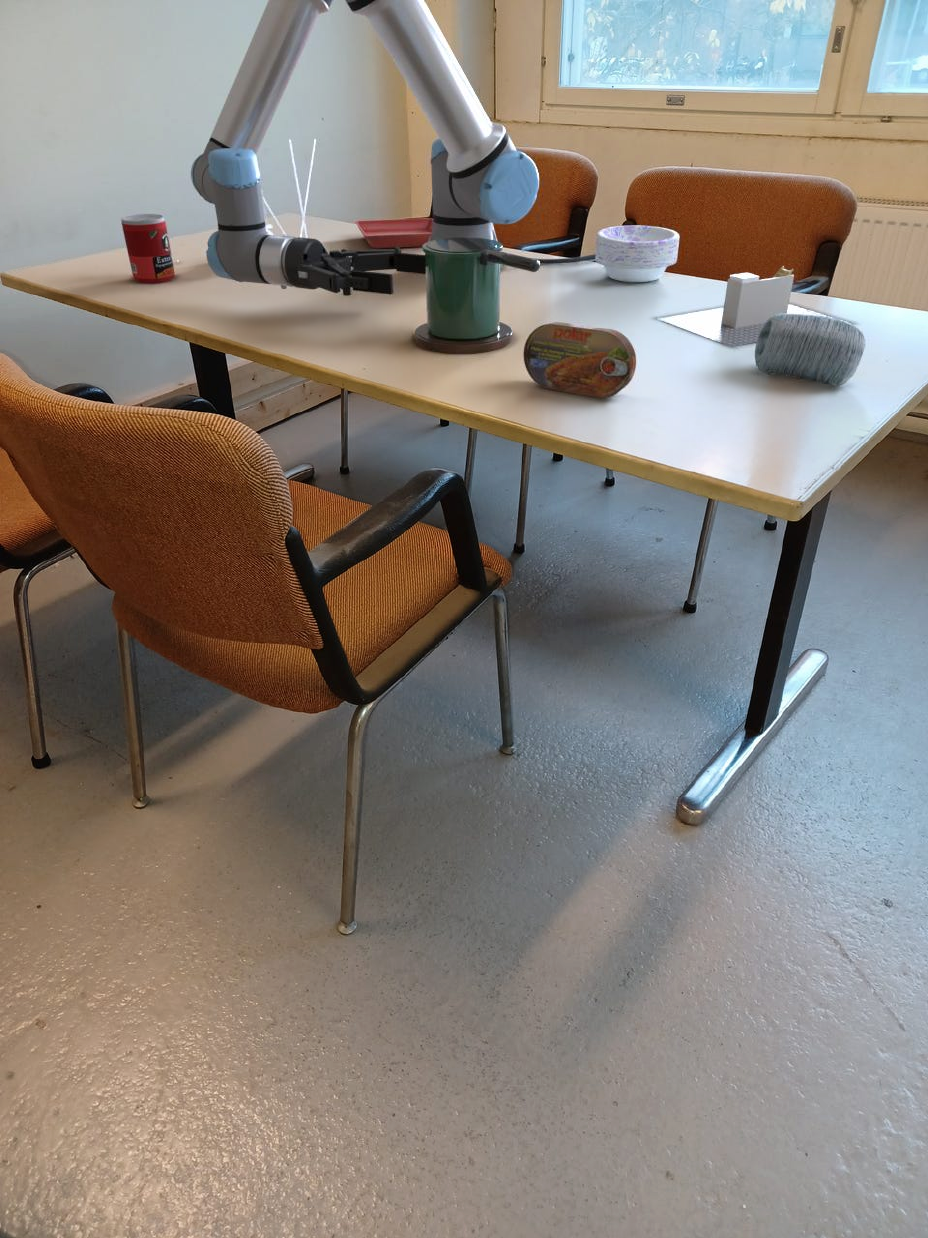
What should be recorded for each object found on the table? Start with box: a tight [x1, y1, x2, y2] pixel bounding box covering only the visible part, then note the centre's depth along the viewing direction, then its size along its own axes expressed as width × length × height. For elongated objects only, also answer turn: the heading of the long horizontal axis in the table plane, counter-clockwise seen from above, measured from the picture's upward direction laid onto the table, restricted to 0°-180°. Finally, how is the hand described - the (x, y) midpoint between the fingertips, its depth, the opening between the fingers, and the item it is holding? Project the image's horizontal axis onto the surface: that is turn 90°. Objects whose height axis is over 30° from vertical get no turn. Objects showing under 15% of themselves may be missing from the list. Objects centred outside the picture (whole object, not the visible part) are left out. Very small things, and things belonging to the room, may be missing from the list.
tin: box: [523, 321, 637, 399], centre depth 113 cm, size 15×3×8 cm, turn 58°
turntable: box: [414, 321, 513, 355], centre depth 135 cm, size 15×15×1 cm
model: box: [720, 265, 795, 329], centre depth 140 cm, size 3×11×8 cm, turn 118°
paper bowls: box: [594, 224, 680, 283], centre depth 165 cm, size 15×15×8 cm
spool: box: [754, 313, 866, 386], centre depth 117 cm, size 14×10×10 cm
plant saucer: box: [355, 217, 433, 249], centre depth 197 cm, size 18×18×3 cm
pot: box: [422, 237, 541, 339], centre depth 128 cm, size 22×12×12 cm, turn 40°
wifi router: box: [177, 138, 317, 262], centre depth 178 cm, size 25×22×22 cm
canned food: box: [120, 213, 176, 284], centre depth 167 cm, size 8×8×11 cm
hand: (413, 274), depth 133 cm, fingers open, 13 cm apart
